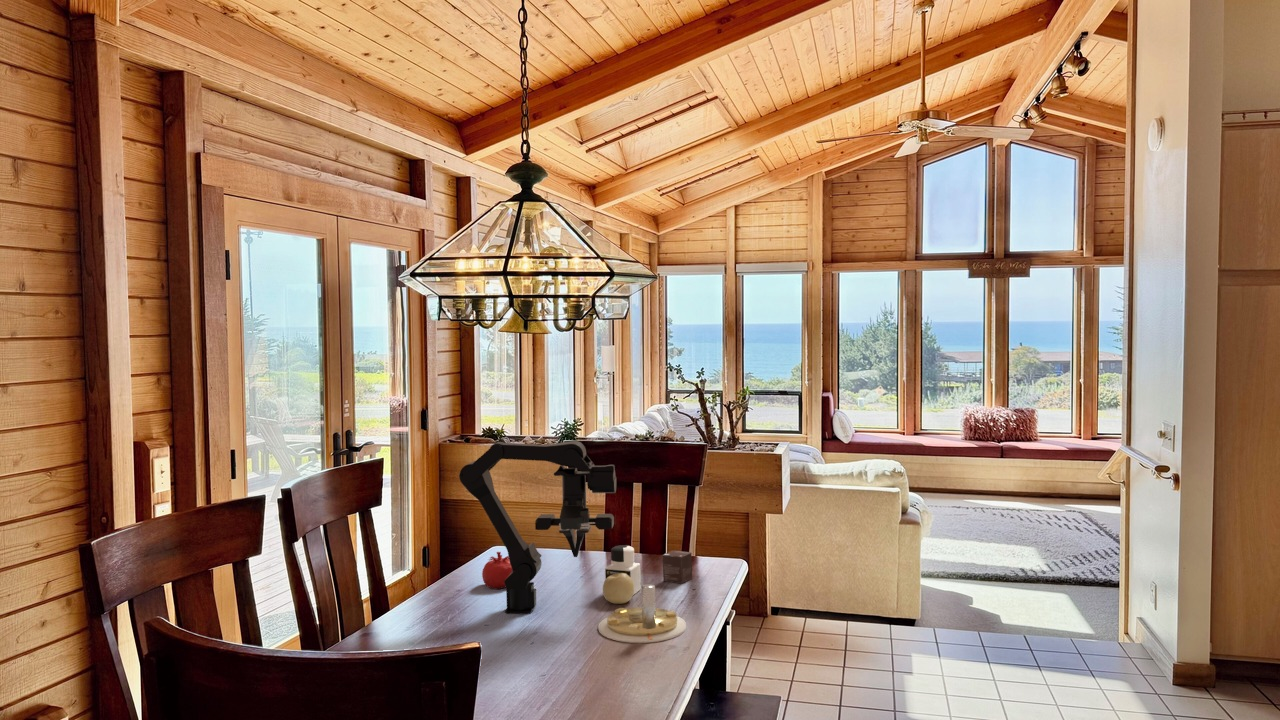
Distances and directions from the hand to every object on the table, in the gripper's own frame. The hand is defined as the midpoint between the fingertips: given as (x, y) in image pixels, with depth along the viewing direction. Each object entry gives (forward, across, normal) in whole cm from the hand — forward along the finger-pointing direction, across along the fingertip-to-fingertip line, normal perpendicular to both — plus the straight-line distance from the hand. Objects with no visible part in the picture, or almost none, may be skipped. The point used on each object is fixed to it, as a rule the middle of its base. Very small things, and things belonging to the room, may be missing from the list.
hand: (575, 556), depth 207 cm
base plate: (+13, +17, -13) cm, 25 cm away
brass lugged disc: (+13, +17, -13) cm, 25 cm away
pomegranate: (+13, -24, +21) cm, 35 cm away
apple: (+13, +10, +7) cm, 18 cm away
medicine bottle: (+13, +10, +14) cm, 22 cm away
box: (+13, +24, +26) cm, 38 cm away
